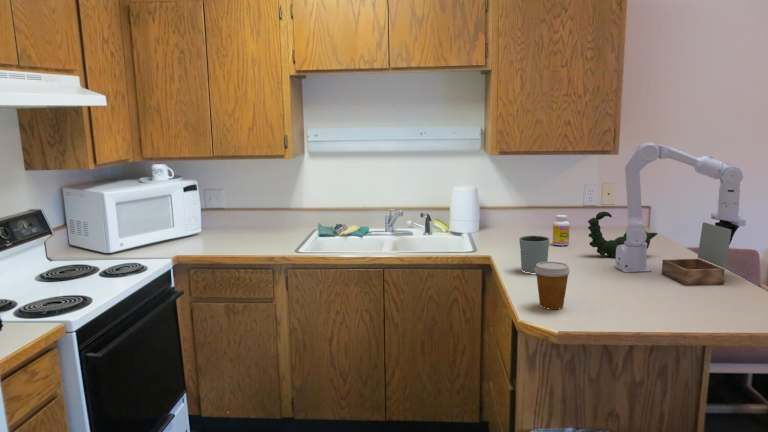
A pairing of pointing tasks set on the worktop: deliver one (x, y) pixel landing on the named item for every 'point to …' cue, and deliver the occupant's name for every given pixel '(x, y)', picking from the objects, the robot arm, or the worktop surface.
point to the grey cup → (533, 251)
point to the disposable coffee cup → (552, 283)
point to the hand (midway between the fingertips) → (725, 244)
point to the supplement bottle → (561, 230)
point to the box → (693, 272)
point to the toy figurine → (610, 245)
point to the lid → (714, 244)
